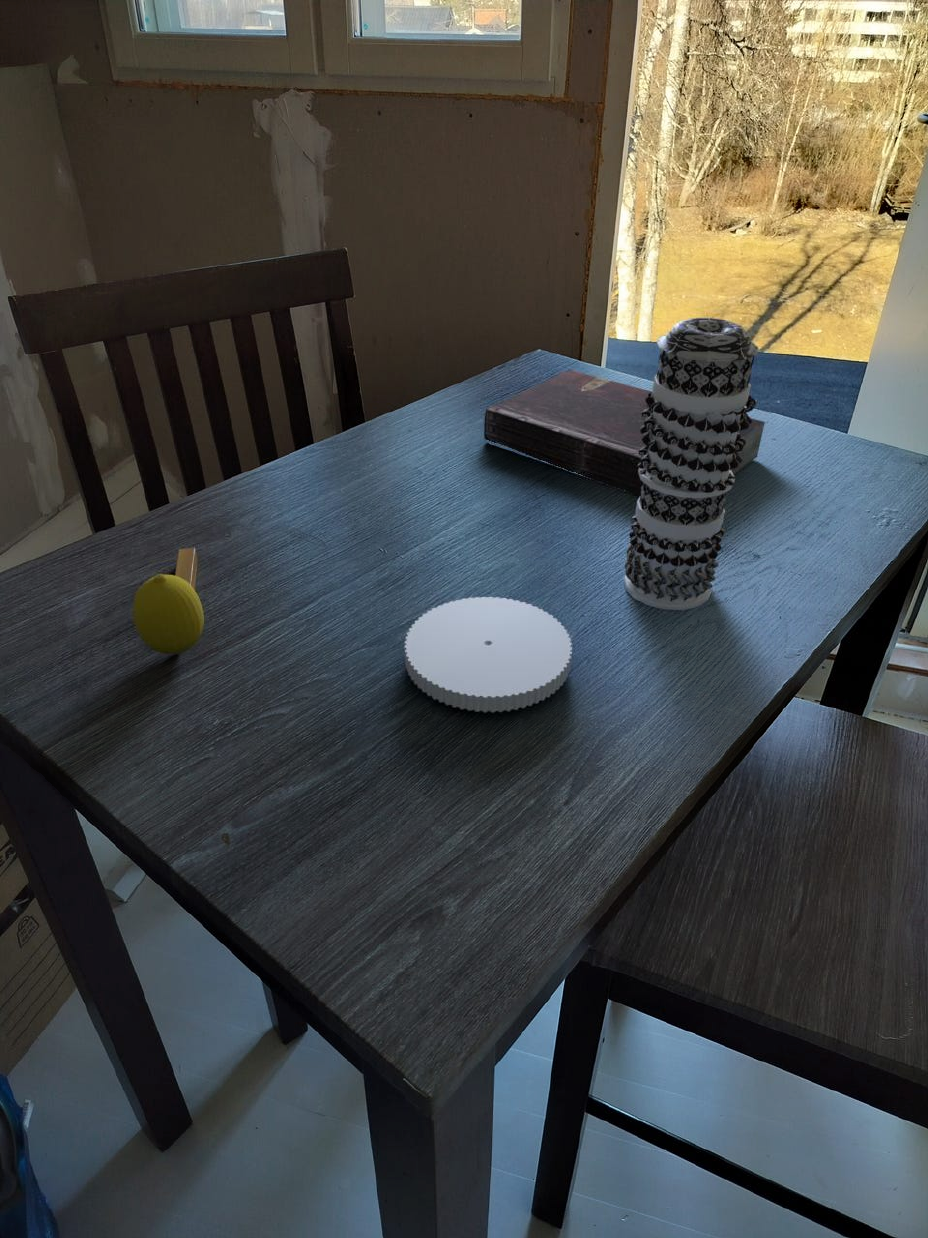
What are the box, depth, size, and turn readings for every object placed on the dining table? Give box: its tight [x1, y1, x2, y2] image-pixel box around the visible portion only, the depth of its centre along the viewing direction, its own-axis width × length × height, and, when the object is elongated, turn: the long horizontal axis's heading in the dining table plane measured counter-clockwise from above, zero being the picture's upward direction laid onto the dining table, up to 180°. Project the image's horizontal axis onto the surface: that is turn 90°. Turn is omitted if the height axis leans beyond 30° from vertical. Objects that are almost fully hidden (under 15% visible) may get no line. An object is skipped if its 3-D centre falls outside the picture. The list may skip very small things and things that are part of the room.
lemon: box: [132, 573, 205, 655], centre depth 72 cm, size 6×6×8 cm
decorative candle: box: [623, 317, 760, 611], centre depth 76 cm, size 9×9×25 cm
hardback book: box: [483, 369, 766, 497], centre depth 107 cm, size 29×19×5 cm, turn 50°
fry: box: [174, 547, 199, 591], centre depth 82 cm, size 2×9×2 cm, turn 11°
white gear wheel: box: [403, 596, 573, 713], centre depth 72 cm, size 14×14×2 cm
